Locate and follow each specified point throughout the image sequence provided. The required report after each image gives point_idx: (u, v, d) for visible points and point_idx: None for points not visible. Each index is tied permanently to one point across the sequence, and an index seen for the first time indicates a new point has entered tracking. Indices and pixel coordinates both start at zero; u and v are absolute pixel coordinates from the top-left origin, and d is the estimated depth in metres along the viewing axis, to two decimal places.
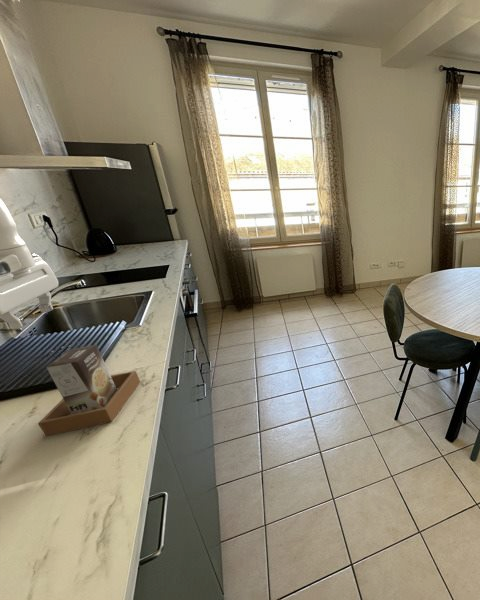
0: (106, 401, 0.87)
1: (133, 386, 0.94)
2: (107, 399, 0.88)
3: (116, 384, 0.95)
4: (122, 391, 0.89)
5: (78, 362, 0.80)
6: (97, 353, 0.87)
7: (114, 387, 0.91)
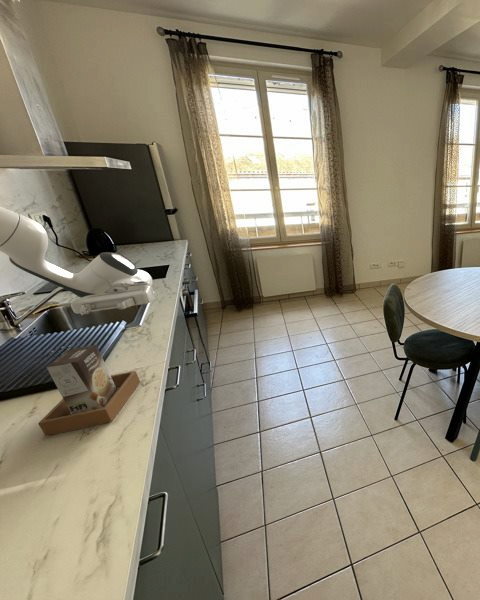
0: (106, 401, 0.87)
1: (133, 386, 0.94)
2: (107, 399, 0.88)
3: (116, 384, 0.95)
4: (122, 391, 0.89)
5: (78, 362, 0.80)
6: (97, 353, 0.87)
7: (114, 387, 0.91)
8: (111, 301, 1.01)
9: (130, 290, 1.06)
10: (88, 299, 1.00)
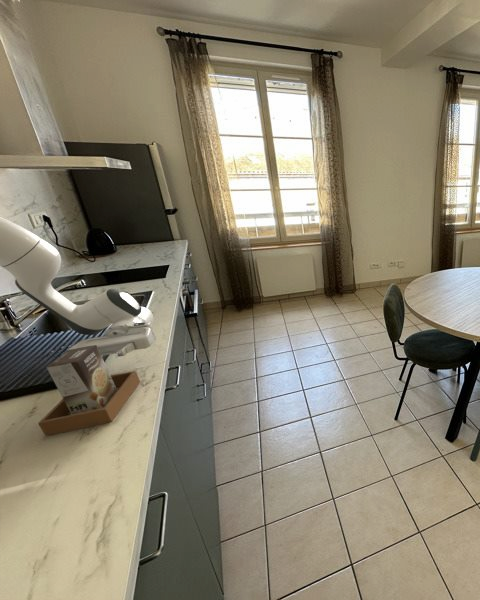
0: (106, 401, 0.87)
1: (133, 386, 0.94)
2: (107, 399, 0.88)
3: (116, 384, 0.95)
4: (122, 391, 0.89)
5: (78, 362, 0.80)
6: (97, 353, 0.87)
7: (114, 387, 0.91)
8: (110, 346, 0.97)
9: (130, 333, 1.02)
10: (86, 345, 0.96)
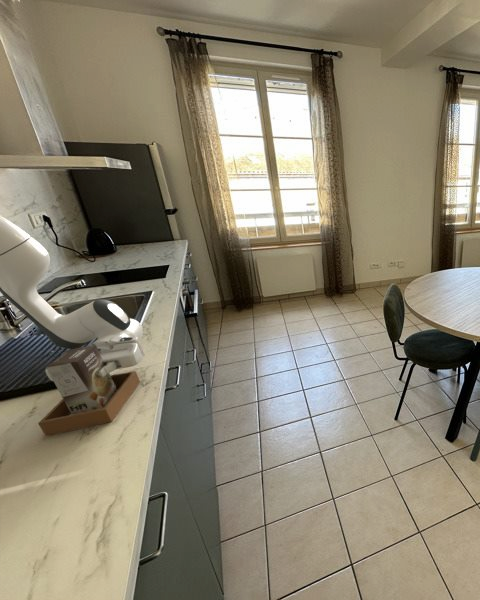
0: (106, 401, 0.87)
1: (133, 386, 0.94)
2: (107, 399, 0.88)
3: (116, 384, 0.95)
4: (122, 391, 0.89)
5: (78, 362, 0.80)
6: (97, 353, 0.87)
7: (114, 387, 0.91)
8: None
9: (115, 349, 0.93)
10: None
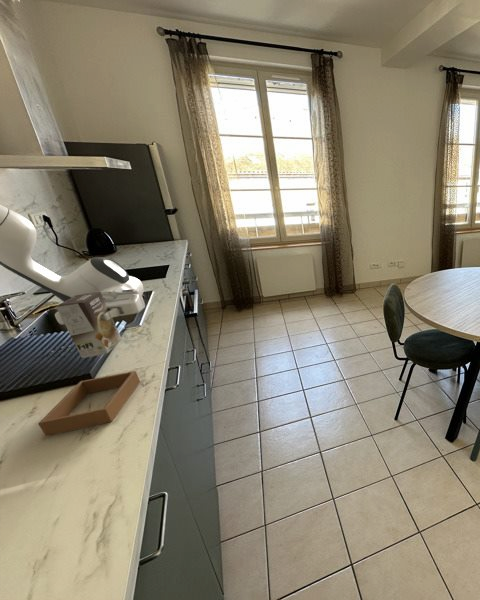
0: (110, 343, 0.95)
1: (133, 386, 0.94)
2: (111, 341, 0.96)
3: (116, 384, 0.95)
4: (122, 391, 0.89)
5: (84, 303, 0.88)
6: (101, 299, 0.95)
7: (117, 332, 0.99)
8: None
9: (118, 299, 1.01)
10: None
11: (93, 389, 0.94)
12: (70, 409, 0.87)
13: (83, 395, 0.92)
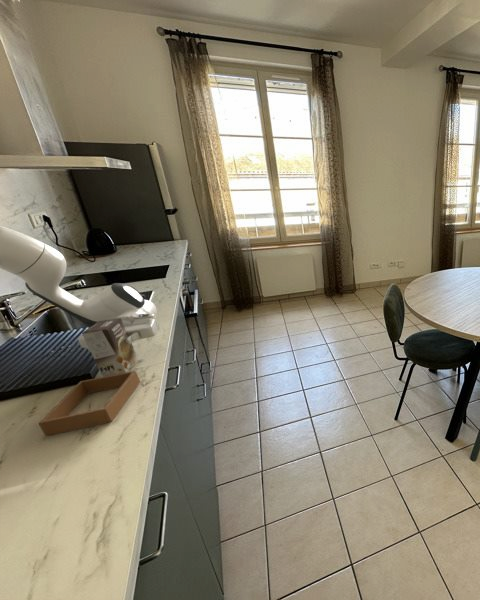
0: (129, 365, 1.04)
1: (133, 386, 0.94)
2: (130, 363, 1.04)
3: (116, 384, 0.95)
4: (122, 391, 0.89)
5: (107, 330, 0.96)
6: (121, 324, 1.03)
7: (135, 354, 1.08)
8: None
9: (135, 323, 1.10)
10: None
11: (93, 389, 0.94)
12: (70, 409, 0.87)
13: (83, 395, 0.92)
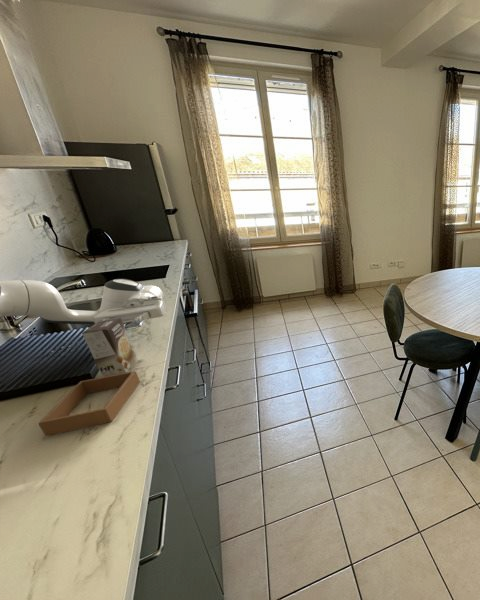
0: (129, 365, 1.04)
1: (133, 386, 0.94)
2: (130, 363, 1.04)
3: (116, 384, 0.95)
4: (122, 391, 0.89)
5: (107, 330, 0.96)
6: (121, 324, 1.03)
7: (135, 354, 1.08)
8: (128, 315, 1.14)
9: (145, 305, 1.19)
10: (108, 313, 1.13)
11: (93, 389, 0.94)
12: (70, 409, 0.87)
13: (83, 395, 0.92)
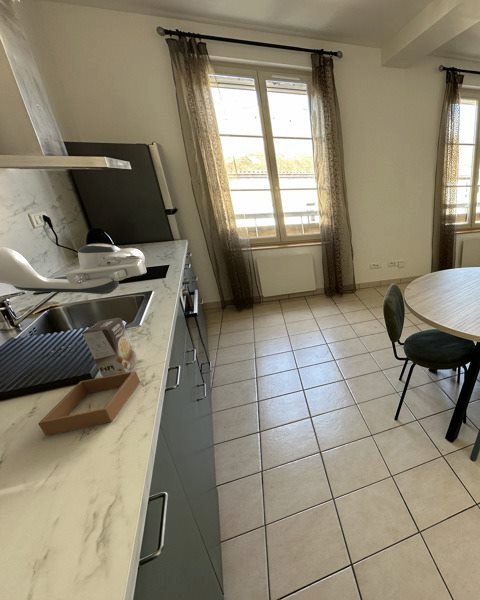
0: (129, 365, 1.04)
1: (133, 386, 0.94)
2: (130, 363, 1.04)
3: (116, 384, 0.95)
4: (122, 391, 0.89)
5: (107, 330, 0.96)
6: (121, 324, 1.03)
7: (135, 354, 1.08)
8: (104, 272, 1.07)
9: (122, 263, 1.12)
10: (82, 270, 1.06)
11: (93, 389, 0.94)
12: (70, 409, 0.87)
13: (83, 395, 0.92)
